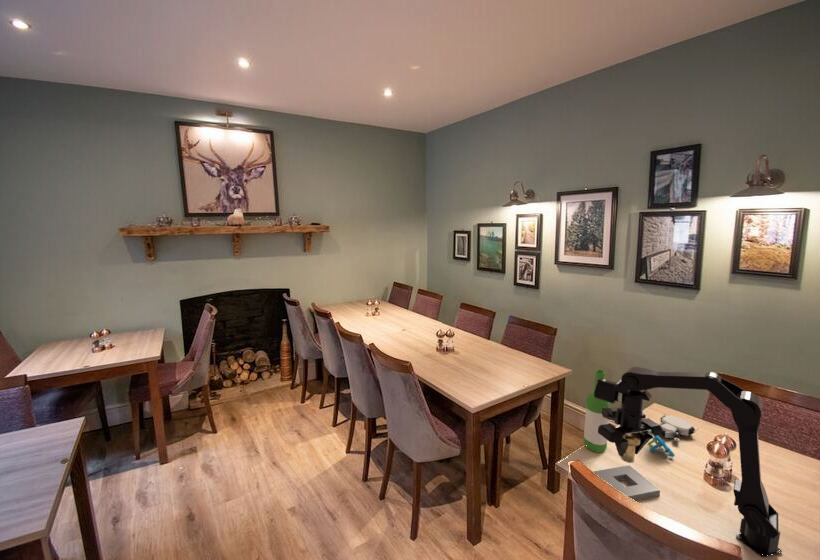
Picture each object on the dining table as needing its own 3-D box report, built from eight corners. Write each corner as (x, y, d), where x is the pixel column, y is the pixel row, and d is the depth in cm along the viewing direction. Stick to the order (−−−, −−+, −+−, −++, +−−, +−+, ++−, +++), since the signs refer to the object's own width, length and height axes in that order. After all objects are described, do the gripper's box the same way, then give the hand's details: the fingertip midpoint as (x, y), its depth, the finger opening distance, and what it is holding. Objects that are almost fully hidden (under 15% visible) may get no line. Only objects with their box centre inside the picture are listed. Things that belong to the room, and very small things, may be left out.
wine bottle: (591, 438, 143) (596, 365, 138) (610, 448, 136) (617, 372, 132) (579, 445, 139) (584, 370, 134) (599, 456, 132) (604, 377, 127)
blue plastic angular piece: (680, 459, 127) (657, 435, 130) (665, 468, 129) (643, 445, 131) (669, 445, 138) (648, 423, 140) (656, 454, 139) (635, 432, 141)
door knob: (643, 463, 113) (645, 439, 112) (626, 466, 112) (628, 442, 111) (628, 452, 119) (630, 429, 118) (612, 454, 118) (613, 431, 117)
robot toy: (679, 449, 137) (699, 435, 144) (679, 438, 136) (700, 424, 143) (645, 433, 148) (666, 420, 155) (645, 422, 147) (666, 411, 154)
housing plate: (659, 495, 113) (660, 490, 112) (620, 503, 110) (620, 497, 110) (628, 470, 124) (629, 465, 124) (592, 476, 121) (593, 471, 121)
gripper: (636, 393, 123) (632, 436, 125) (587, 399, 119) (584, 444, 121) (665, 409, 112) (661, 456, 114) (613, 417, 108) (609, 465, 110)
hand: (627, 454), depth 115 cm, fingers closed on door knob, 5 cm apart
